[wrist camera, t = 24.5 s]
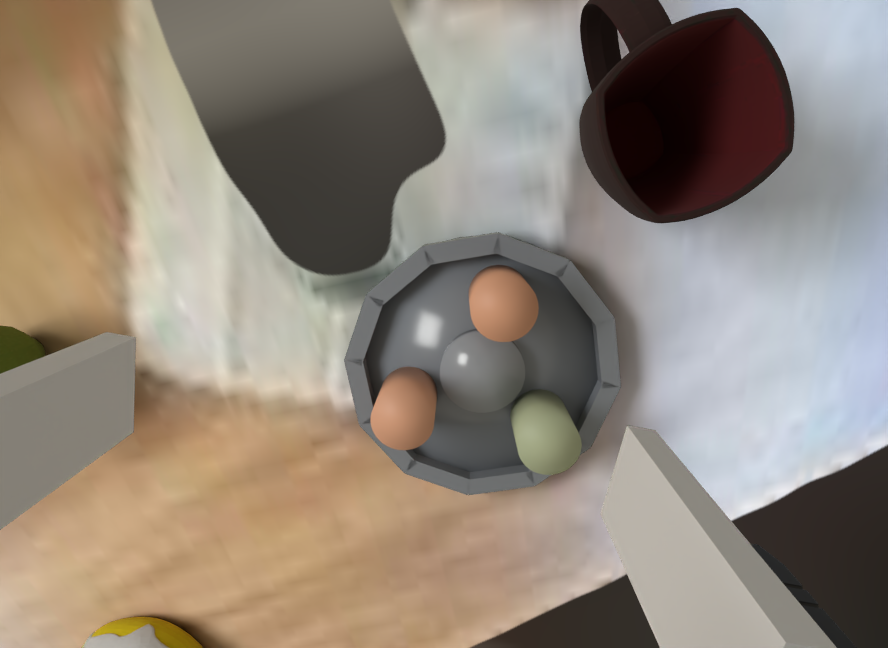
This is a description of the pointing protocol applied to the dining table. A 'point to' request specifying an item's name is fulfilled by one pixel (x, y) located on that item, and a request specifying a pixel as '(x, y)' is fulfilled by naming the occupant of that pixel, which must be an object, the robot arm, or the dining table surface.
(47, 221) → the dining table surface
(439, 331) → the groove tray
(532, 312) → the terracotta bead
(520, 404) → the olive bead
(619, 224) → the dining table surface
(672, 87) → the mug
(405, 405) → the terracotta bead
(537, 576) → the dining table surface
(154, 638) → the donut
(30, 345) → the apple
